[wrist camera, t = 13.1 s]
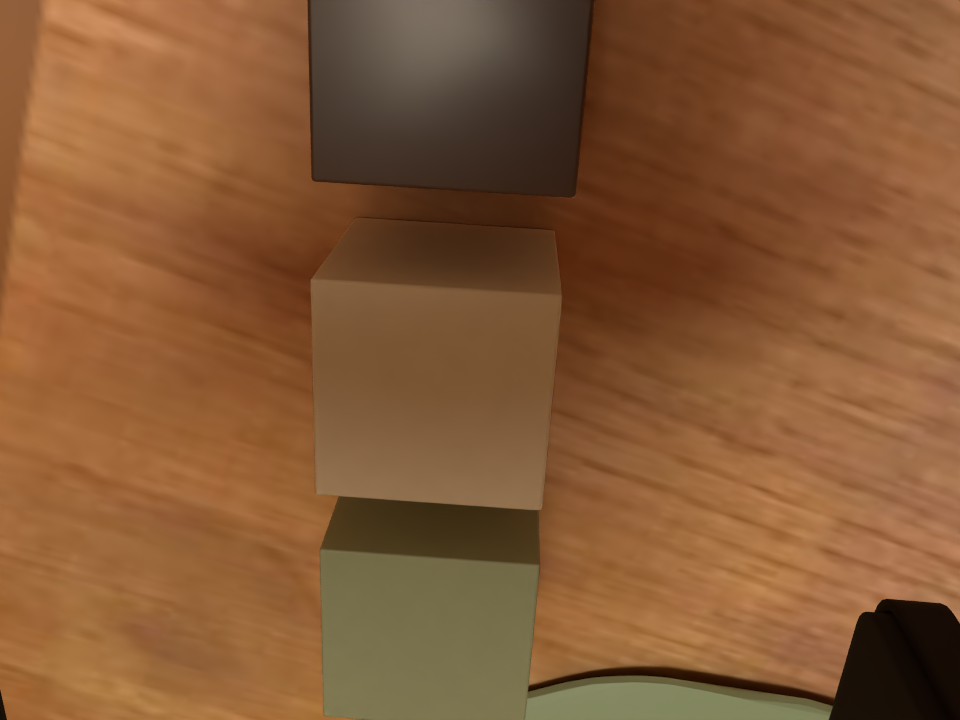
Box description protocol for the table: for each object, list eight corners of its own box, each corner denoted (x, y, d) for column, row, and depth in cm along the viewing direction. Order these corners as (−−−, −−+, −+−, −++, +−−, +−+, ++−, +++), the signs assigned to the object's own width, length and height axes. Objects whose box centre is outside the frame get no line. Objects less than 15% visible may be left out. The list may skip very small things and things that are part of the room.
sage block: (357, 443, 22) (319, 549, 18) (537, 455, 22) (540, 565, 18) (358, 589, 24) (322, 717, 20) (524, 601, 24) (524, 732, 20)
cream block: (354, 216, 20) (309, 278, 16) (555, 229, 20) (562, 295, 16) (355, 397, 22) (314, 495, 18) (539, 409, 22) (542, 512, 17)
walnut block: (356, -95, 17) (304, -117, 13) (586, -82, 17) (604, -101, 13) (356, 138, 19) (310, 182, 15) (565, 151, 19) (576, 199, 15)
